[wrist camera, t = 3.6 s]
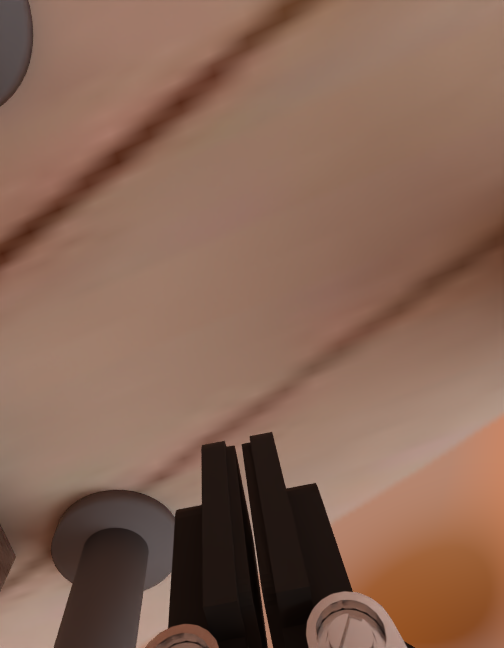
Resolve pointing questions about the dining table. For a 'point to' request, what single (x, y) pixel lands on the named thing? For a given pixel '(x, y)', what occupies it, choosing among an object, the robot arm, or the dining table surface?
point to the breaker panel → (5, 557)
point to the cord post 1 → (14, 45)
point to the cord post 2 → (110, 565)
